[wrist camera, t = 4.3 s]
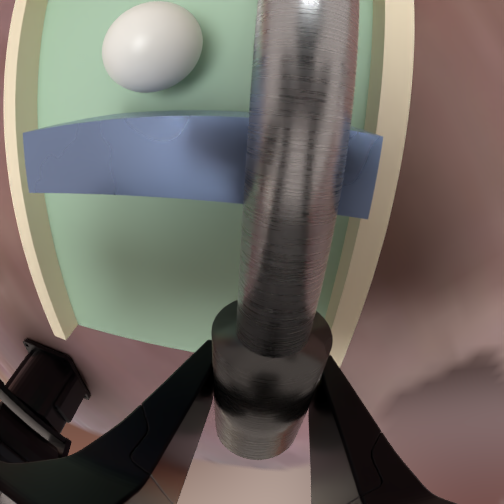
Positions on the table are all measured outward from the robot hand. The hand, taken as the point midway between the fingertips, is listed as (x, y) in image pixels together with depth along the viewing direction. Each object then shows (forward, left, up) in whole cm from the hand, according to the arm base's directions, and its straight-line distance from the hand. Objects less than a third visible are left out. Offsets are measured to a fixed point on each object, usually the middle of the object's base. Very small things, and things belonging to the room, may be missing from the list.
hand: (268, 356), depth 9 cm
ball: (-4, +8, -1) cm, 9 cm away
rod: (-2, +9, -4) cm, 10 cm away
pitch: (-4, +9, -6) cm, 12 cm away
